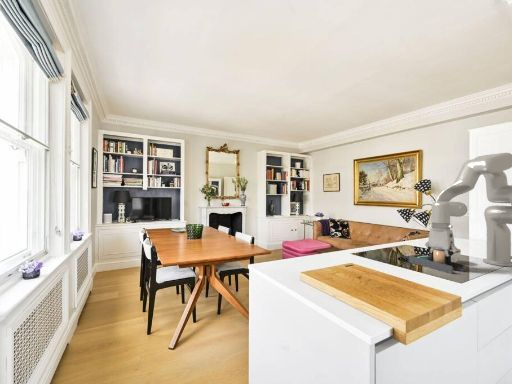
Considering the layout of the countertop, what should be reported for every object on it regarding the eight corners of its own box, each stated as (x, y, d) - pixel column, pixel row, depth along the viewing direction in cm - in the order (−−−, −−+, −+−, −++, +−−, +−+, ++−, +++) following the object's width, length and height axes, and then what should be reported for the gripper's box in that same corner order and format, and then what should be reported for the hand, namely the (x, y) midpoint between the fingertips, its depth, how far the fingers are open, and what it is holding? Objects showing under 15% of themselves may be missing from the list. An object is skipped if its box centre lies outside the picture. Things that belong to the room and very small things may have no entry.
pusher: (426, 262, 137) (426, 255, 137) (428, 262, 136) (428, 256, 136) (417, 263, 134) (417, 256, 134) (419, 263, 133) (419, 257, 133)
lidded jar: (461, 266, 131) (461, 248, 131) (435, 262, 137) (435, 245, 137) (460, 262, 139) (460, 245, 139) (436, 258, 146) (436, 242, 146)
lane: (420, 260, 142) (420, 254, 142) (464, 271, 121) (464, 264, 121) (408, 262, 138) (408, 255, 138) (451, 273, 118) (451, 266, 118)
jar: (438, 263, 131) (438, 245, 131) (451, 266, 125) (451, 248, 125) (430, 264, 129) (430, 246, 129) (443, 267, 123) (443, 248, 123)
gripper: (464, 228, 120) (464, 266, 120) (428, 224, 136) (428, 257, 136) (454, 228, 118) (454, 267, 117) (419, 224, 134) (418, 258, 134)
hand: (440, 261), depth 127 cm, fingers closed on jar, 5 cm apart
